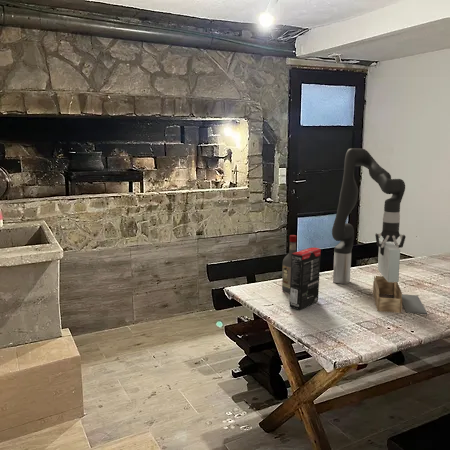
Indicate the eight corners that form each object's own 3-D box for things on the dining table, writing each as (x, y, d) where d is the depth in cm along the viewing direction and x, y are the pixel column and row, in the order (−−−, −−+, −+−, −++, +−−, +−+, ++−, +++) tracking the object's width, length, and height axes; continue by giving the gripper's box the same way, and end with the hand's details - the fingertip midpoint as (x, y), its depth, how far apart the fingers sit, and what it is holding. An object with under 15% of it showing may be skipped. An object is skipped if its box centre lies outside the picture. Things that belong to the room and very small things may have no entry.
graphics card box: (307, 298, 229) (309, 246, 224) (319, 301, 225) (321, 248, 220) (288, 307, 217) (289, 252, 212) (301, 311, 212) (302, 254, 207)
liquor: (292, 286, 248) (293, 233, 242) (304, 291, 240) (305, 236, 235) (279, 289, 243) (280, 235, 238) (291, 294, 235) (292, 238, 230)
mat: (406, 312, 209) (406, 311, 209) (398, 295, 233) (398, 294, 233) (427, 314, 207) (427, 313, 207) (417, 296, 231) (417, 295, 231)
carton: (377, 311, 211) (378, 291, 210) (372, 292, 237) (373, 275, 235) (401, 313, 209) (402, 293, 207) (394, 294, 235) (395, 276, 233)
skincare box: (400, 282, 210) (400, 249, 207) (388, 282, 211) (388, 249, 208) (388, 269, 231) (388, 239, 228) (377, 269, 231) (377, 239, 228)
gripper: (376, 221, 214) (374, 256, 217) (408, 222, 211) (405, 258, 214) (374, 219, 221) (372, 252, 224) (406, 220, 218) (403, 254, 221)
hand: (388, 255), depth 219 cm, fingers closed on skincare box, 5 cm apart
